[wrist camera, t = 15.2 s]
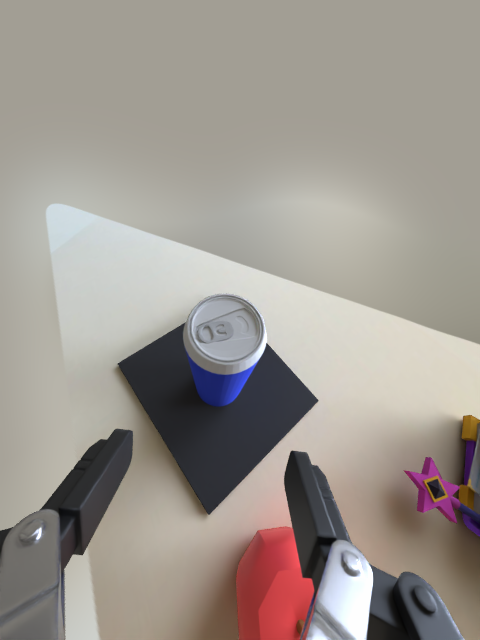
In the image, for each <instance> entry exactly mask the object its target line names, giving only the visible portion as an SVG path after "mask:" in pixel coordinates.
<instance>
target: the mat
mask: <svg viewBox="0 0 480 640" xmlns="http://www.w3.org/2000/svg"><path fill="white" fill-rule="evenodd" d="M185 323H186V322H185ZM185 323H184V324H182V325H180V326H179V327H177V328H176V329H174V330H172V331H171V332H169V333H167V334H166V335H164V336H162V337H161V338H159V339H157V340H156V341H154V342H152V343H151V344H149V345H148V346H146V347H144V348H143V349H141V350H139V351H138V352H136V353H134V354H133V355H131V356H129V357H128V358H126V359H124V360H123V361H121V362H120V363H118V365H119V367H120V369H121V370H122V372H123V374H124V375H125V377H126V379H127V380H128V382H129V384H130V385H131V387H132V389H133V390H134V392H135V394H136V395H137V397H138V399H139V400H140V402H141V404H142V405H143V407H144V409H145V410H146V412H147V414H148V415H149V417H150V419H151V420H152V422H153V424H154V425H155V427H156V429H157V430H158V432H159V434H160V435H161V437H162V439H163V440H164V442H165V443H166V445H167V447H168V448H169V450H170V452H171V453H172V455H173V457H174V458H175V460H176V462H177V463H178V465H179V467H180V468H181V470H182V472H183V473H184V475H185V477H186V478H187V480H188V482H189V483H190V485H191V487H192V488H193V490H194V492H195V493H196V495H197V497H198V498H199V500H200V502H201V503H202V505H203V507H204V508H205V510H206V512H207V513H208V515H209V514H210V513H211V512H212V511H213V510H214V509H215V508H216V507H217V506H218V505H219V504H220V503H221V502H222V501H223V500H224V499H225V498H226V497H227V496H228V495H229V494H230V492H231V491H232V490H233V489H234V488H235V487H236V486H237V485H238V484H239V483H240V482H241V481H242V480H243V479H244V478H245V477H246V476H247V475H248V474H249V473H250V472H251V471H252V470H253V468H254V467H255V466H256V465H257V464H258V463H259V462H260V461H261V460H262V459H263V458H264V457H265V456H266V455H267V454H268V453H269V452H270V451H271V450H272V449H273V448H274V447H275V446H276V444H277V443H278V442H279V441H280V440H281V439H282V438H283V437H284V436H285V435H286V434H287V433H288V432H289V431H290V430H291V429H292V428H293V427H294V426H295V425H296V424H297V423H298V422H299V420H300V419H301V418H302V417H303V416H304V415H305V414H306V413H307V412H308V411H309V410H310V409H311V408H312V407H313V406H314V405H315V404H316V403H317V402H318V399H317V398H316V397H315V396H314V395H313V394H312V393H311V392H310V390H309V389H308V388H307V387H306V386H305V385H304V384H303V383H302V382H301V381H300V379H299V378H298V377H297V376H296V375H295V374H294V373H293V372H292V371H291V369H290V368H289V367H288V366H287V365H286V364H285V363H284V362H283V361H282V359H281V358H280V357H279V356H278V355H277V354H276V353H275V352H274V351H273V349H272V348H271V347H270V346H269V345H268V344H267V343H266V346H265V349H264V352H263V354H262V356H261V357H260V359H259V361H258V362H257V364H256V366H255V367H254V369H253V371H252V372H251V374H250V376H249V377H248V379H247V381H246V383H245V384H244V386H243V388H242V389H241V391H240V393H239V394H238V396H237V397H236V399H235V400H234V401H233V402H231V403H230V404H227V405H225V406H219V407H218V406H212V405H209V404H207V403H206V402H204V401H203V400H202V399H201V398H200V396H199V394H198V392H197V389H196V385H195V382H194V378H193V375H192V371H191V367H190V364H189V360H188V357H187V353H186V349H185V346H184V341H183V331H184V326H185Z"/></svg>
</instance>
